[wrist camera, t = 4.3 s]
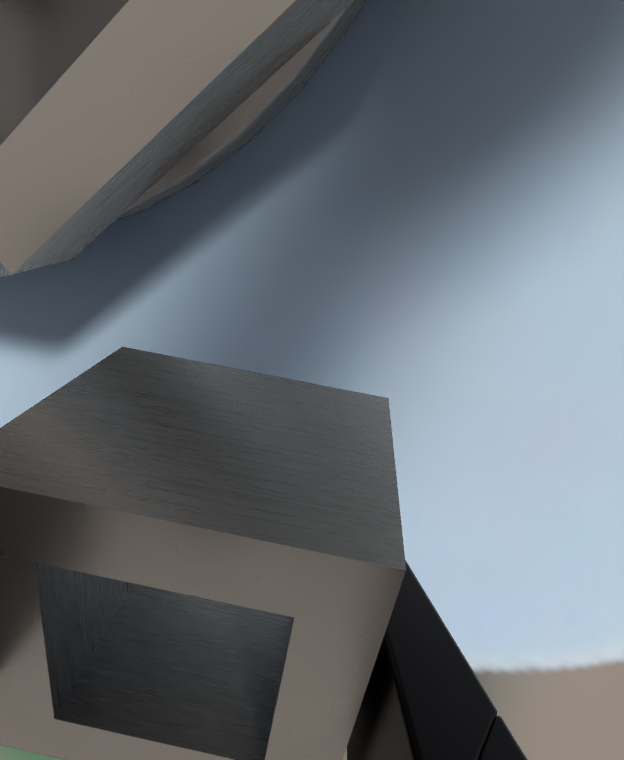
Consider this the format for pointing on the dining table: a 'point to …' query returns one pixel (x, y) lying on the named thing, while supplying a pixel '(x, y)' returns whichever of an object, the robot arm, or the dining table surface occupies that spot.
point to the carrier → (136, 104)
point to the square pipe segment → (193, 563)
